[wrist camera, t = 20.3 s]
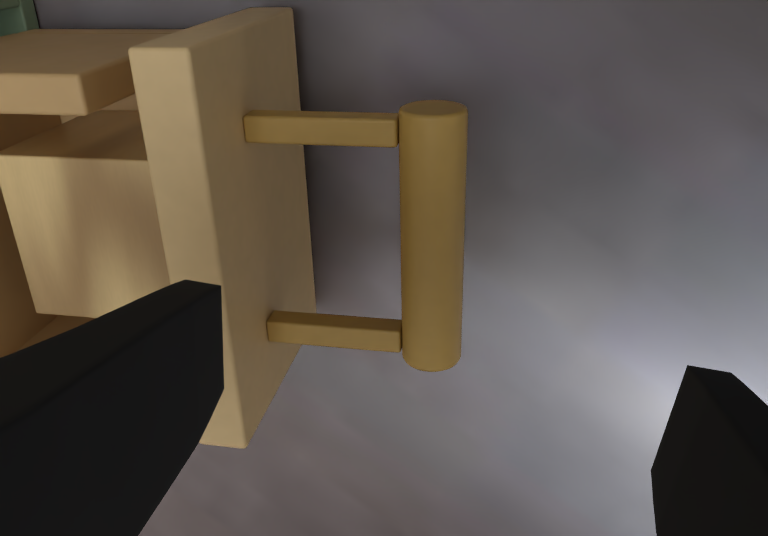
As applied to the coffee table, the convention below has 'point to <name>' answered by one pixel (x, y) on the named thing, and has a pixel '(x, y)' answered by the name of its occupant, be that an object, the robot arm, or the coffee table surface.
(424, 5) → the coffee table surface
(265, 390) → the drawer
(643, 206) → the coffee table surface
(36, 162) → the block
